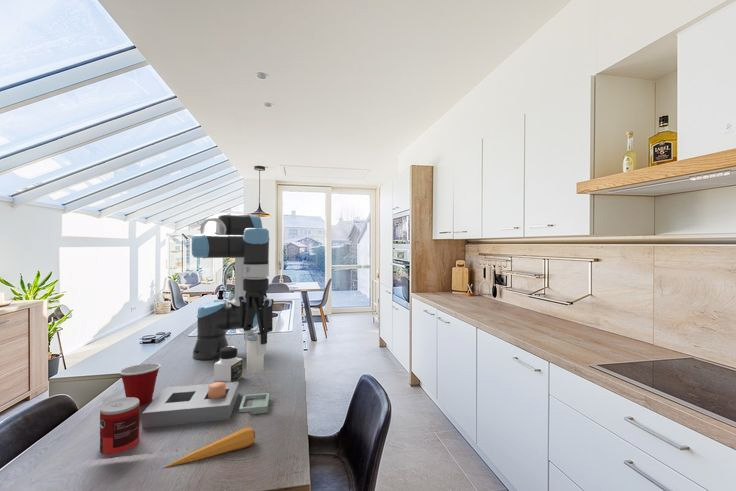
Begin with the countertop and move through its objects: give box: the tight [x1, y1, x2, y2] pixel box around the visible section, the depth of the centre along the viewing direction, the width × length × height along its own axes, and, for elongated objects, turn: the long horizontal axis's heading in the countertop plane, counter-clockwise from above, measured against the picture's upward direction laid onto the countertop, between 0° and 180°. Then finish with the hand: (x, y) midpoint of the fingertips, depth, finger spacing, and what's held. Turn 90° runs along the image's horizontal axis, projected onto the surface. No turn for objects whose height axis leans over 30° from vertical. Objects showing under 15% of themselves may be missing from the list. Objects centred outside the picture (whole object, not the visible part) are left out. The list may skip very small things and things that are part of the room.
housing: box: [141, 381, 240, 429], centre depth 98 cm, size 16×22×5 cm
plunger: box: [208, 381, 227, 399], centre depth 100 cm, size 5×5×6 cm
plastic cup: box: [118, 362, 161, 407], centre depth 102 cm, size 11×11×12 cm
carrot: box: [163, 427, 256, 469], centre depth 79 cm, size 20×4×4 cm, turn 120°
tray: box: [238, 392, 270, 415], centre depth 102 cm, size 9×8×2 cm
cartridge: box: [246, 332, 265, 375], centre depth 102 cm, size 5×5×11 cm
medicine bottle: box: [213, 345, 243, 383], centre depth 122 cm, size 7×7×12 cm
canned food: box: [99, 396, 141, 458], centre depth 81 cm, size 8×8×11 cm
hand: (255, 352), depth 102 cm, fingers closed on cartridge, 5 cm apart
